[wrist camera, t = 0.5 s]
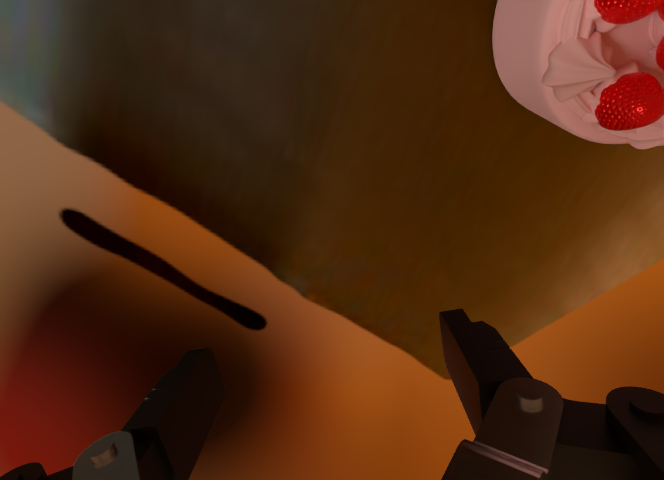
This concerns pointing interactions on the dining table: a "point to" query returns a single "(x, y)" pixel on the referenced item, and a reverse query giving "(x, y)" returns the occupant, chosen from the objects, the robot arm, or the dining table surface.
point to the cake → (586, 65)
